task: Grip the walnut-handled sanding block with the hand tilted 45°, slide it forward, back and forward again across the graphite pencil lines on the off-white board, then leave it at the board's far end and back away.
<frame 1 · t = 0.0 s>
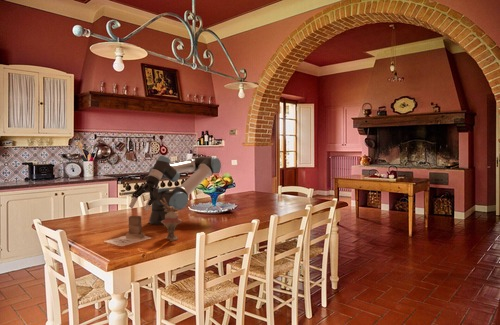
hand: (137, 208, 205), 15 cm above the table, tool tilted 35°, fingers open, 13 cm apart
marked board: (128, 241, 190), on the table
sanding block: (135, 237, 194), point 1 cm above the table, touching marked board
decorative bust: (172, 239, 197), on the table
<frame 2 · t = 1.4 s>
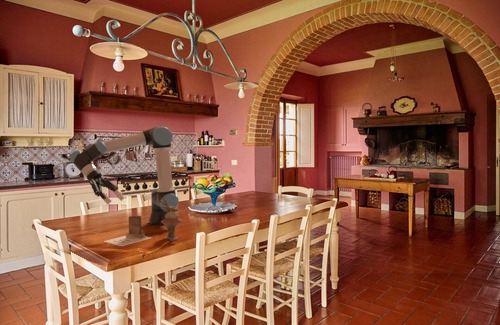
hand: (116, 201, 195), 21 cm above the table, tool tilted 45°, fingers open, 13 cm apart
nothing on the table moved.
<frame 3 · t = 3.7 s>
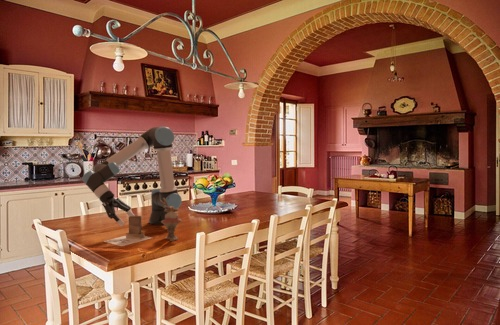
hand: (129, 222, 193), 10 cm above the table, tool tilted 45°, fingers open, 13 cm apart
nothing on the table moved.
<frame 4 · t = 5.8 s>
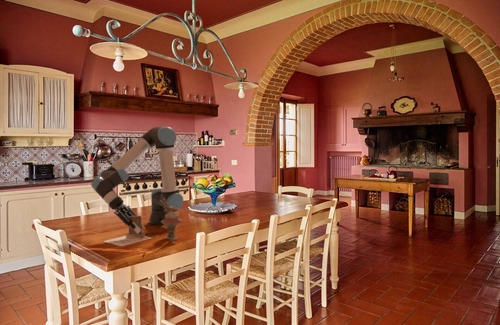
hand: (141, 230, 193), 5 cm above the table, tool tilted 45°, fingers closed on sanding block, 4 cm apart
sanding block: (135, 237, 194), point 1 cm above the table, touching gripper, marked board
everything else where it was.
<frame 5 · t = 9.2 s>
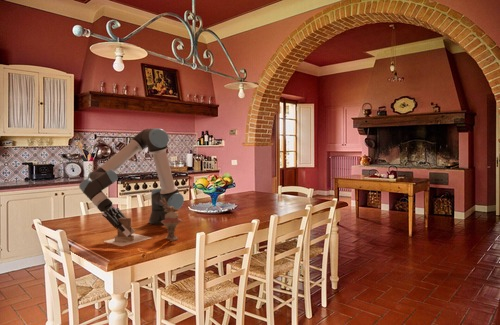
hand: (131, 233, 188), 5 cm above the table, tool tilted 45°, fingers closed on sanding block, 4 cm apart
sanding block: (124, 240, 188), point 1 cm above the table, touching gripper
everything else where it was.
when the fingers open (5 cm above the table, at t = 12.6 s): sanding block stays where it is, resting on marked board.
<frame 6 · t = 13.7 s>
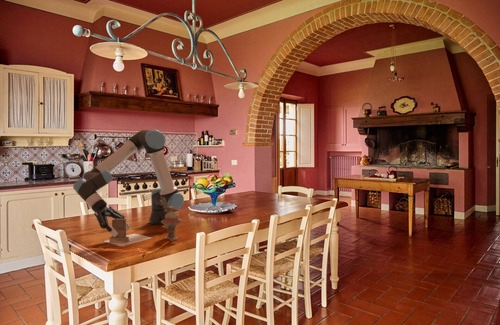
hand: (123, 232, 185), 6 cm above the table, tool tilted 45°, fingers open, 13 cm apart
sanding block: (119, 241, 186), point 1 cm above the table, touching marked board
everything else where it was.
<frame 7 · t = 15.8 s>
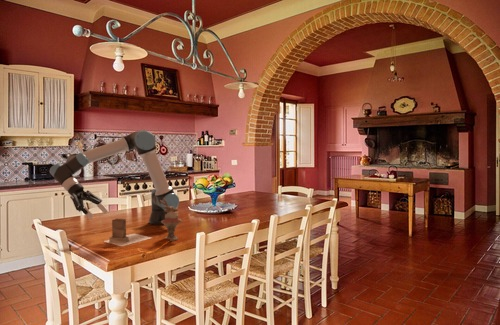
hand: (99, 215, 188), 15 cm above the table, tool tilted 45°, fingers open, 13 cm apart
nothing on the table moved.
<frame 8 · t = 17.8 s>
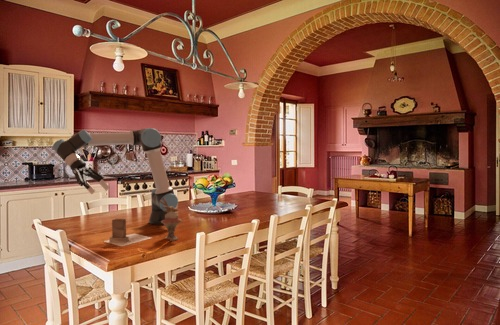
hand: (101, 190, 191), 28 cm above the table, tool tilted 45°, fingers open, 13 cm apart
nothing on the table moved.
at the end: sanding block inside the target area (0.2 cm from its centre), point 1.2 cm above the table; sanding block tilted 0°; the gripper is holding nothing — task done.
